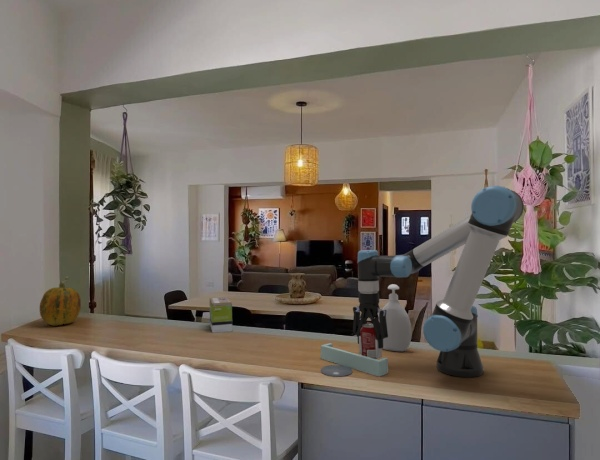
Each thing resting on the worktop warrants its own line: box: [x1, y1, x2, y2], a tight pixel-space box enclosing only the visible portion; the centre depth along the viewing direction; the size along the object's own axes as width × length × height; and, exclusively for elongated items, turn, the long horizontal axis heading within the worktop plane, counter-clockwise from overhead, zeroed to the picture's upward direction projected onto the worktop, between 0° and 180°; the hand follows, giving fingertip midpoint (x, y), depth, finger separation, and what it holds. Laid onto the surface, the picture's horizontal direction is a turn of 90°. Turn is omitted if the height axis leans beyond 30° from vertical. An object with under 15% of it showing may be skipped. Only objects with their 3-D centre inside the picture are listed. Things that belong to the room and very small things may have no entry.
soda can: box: [360, 323, 378, 360], centre depth 148 cm, size 7×7×12 cm
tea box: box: [209, 296, 233, 334], centre depth 204 cm, size 15×10×15 cm
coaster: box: [320, 364, 353, 378], centre depth 141 cm, size 11×11×1 cm
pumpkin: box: [39, 275, 82, 327], centre depth 214 cm, size 19×19×25 cm
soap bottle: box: [378, 283, 413, 353], centre depth 167 cm, size 14×8×27 cm, turn 62°
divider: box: [320, 342, 389, 378], centre depth 147 cm, size 27×5×5 cm, turn 43°
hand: (370, 355), depth 148 cm, fingers closed on soda can, 7 cm apart
